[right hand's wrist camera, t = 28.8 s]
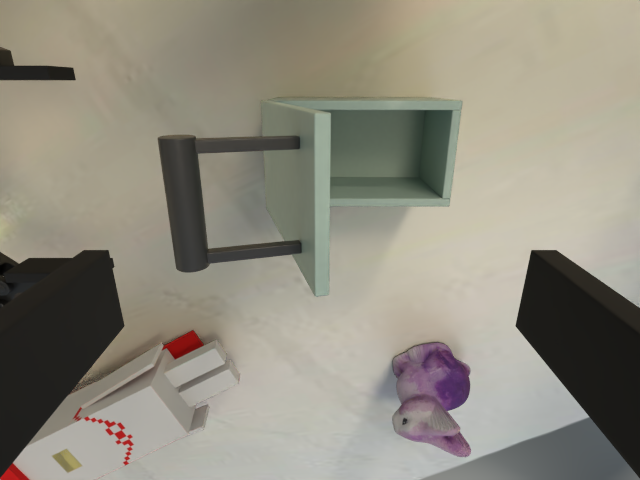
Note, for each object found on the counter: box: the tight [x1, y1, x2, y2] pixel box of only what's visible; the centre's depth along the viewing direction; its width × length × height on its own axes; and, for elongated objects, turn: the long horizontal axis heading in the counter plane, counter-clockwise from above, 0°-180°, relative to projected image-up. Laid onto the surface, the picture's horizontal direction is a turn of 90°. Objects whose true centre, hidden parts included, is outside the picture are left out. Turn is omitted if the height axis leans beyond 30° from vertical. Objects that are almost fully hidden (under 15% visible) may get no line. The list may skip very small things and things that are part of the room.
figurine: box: [392, 342, 471, 457], centre depth 52 cm, size 9×10×15 cm
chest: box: [267, 97, 462, 206], centre depth 42 cm, size 18×10×11 cm, turn 90°
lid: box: [158, 101, 331, 297], centre depth 28 cm, size 18×10×8 cm
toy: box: [0, 330, 240, 480], centre depth 55 cm, size 12×13×30 cm
